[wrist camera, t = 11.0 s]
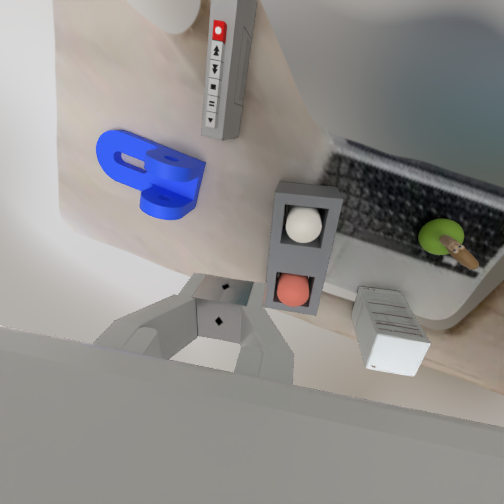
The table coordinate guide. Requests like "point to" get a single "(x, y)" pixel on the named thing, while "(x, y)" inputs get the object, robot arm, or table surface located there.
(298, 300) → the red plug
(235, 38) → the cassette player
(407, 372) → the supplement box
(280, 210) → the block
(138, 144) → the bracket
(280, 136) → the table surface
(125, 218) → the table surface
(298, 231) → the plug
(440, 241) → the snail figurine
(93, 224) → the table surface
